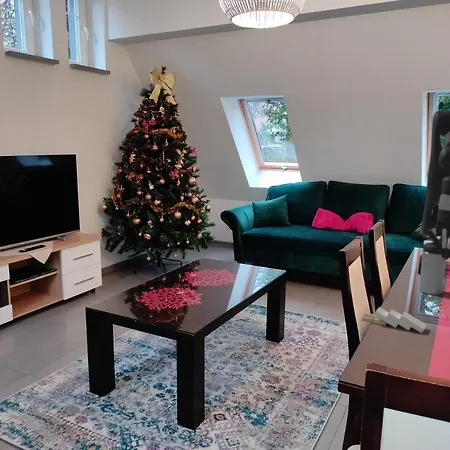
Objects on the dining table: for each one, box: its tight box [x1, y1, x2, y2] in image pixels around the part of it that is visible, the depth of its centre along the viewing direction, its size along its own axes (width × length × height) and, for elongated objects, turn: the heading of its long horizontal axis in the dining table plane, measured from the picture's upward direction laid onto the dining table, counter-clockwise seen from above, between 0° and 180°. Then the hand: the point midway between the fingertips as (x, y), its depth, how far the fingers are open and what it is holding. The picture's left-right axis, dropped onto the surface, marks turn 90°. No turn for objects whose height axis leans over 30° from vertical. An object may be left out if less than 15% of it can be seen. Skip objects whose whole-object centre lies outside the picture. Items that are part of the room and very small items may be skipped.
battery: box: [417, 253, 423, 275], centre depth 220 cm, size 4×7×10 cm, turn 146°
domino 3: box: [387, 308, 412, 331], centre depth 153 cm, size 5×2×8 cm
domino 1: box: [361, 312, 388, 327], centre depth 158 cm, size 5×2×8 cm
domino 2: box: [374, 306, 399, 329], centre depth 155 cm, size 5×2×8 cm
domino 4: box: [399, 311, 427, 334], centre depth 151 cm, size 5×2×8 cm
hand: (445, 258), depth 153 cm, fingers closed
